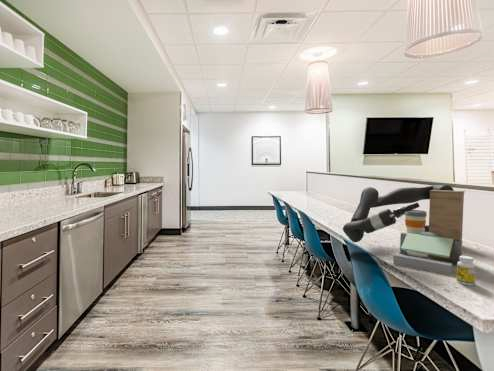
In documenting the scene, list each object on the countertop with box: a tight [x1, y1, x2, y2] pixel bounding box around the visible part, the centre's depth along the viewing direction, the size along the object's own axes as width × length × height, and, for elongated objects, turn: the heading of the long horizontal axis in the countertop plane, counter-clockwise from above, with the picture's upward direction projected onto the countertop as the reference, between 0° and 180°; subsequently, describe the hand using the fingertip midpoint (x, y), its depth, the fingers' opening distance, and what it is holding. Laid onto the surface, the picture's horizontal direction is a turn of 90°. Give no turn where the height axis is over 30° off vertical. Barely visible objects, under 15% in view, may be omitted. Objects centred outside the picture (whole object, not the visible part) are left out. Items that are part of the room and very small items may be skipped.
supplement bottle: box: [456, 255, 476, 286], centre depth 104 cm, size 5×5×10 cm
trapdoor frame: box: [399, 232, 463, 266], centre depth 132 cm, size 3×24×10 cm, turn 47°
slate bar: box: [392, 252, 453, 275], centre depth 121 cm, size 4×21×4 cm
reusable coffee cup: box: [404, 209, 428, 234], centre depth 186 cm, size 13×13×15 cm
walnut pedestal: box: [427, 190, 465, 261], centre depth 133 cm, size 8×12×32 cm
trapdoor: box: [401, 231, 453, 258], centre depth 127 cm, size 14×18×1 cm
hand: (416, 205), depth 126 cm, fingers open, 8 cm apart
